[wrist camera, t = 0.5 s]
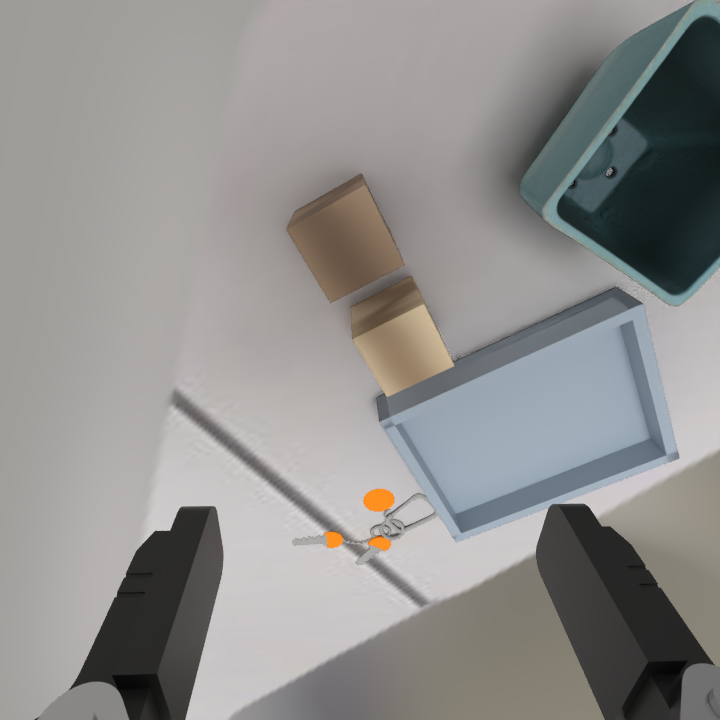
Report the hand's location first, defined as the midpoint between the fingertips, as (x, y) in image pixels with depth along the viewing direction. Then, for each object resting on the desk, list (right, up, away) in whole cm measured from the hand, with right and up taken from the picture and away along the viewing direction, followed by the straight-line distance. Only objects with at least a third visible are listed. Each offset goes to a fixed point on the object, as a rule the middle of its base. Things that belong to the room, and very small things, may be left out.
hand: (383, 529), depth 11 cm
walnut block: (-1, +12, +17) cm, 21 cm away
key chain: (0, -11, +30) cm, 32 cm away
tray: (+12, 0, +24) cm, 27 cm away
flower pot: (+13, +16, +15) cm, 26 cm away
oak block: (+2, +7, +20) cm, 21 cm away
